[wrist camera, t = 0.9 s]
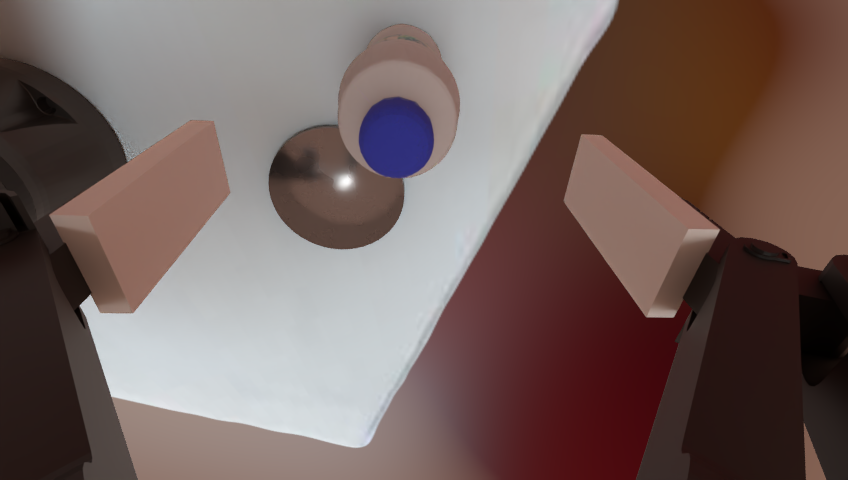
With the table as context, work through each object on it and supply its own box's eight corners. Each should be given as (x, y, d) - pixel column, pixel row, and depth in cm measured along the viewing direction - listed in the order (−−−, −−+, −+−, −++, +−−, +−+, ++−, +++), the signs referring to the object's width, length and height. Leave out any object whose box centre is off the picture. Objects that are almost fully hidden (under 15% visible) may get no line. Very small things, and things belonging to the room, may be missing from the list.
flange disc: (280, 242, 43) (278, 246, 42) (261, 121, 36) (258, 123, 35) (401, 247, 44) (401, 251, 43) (406, 129, 37) (406, 132, 36)
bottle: (444, 102, 36) (473, 213, 19) (368, 107, 36) (330, 221, 19) (442, 16, 32) (476, 57, 15) (358, 21, 32) (298, 67, 15)
